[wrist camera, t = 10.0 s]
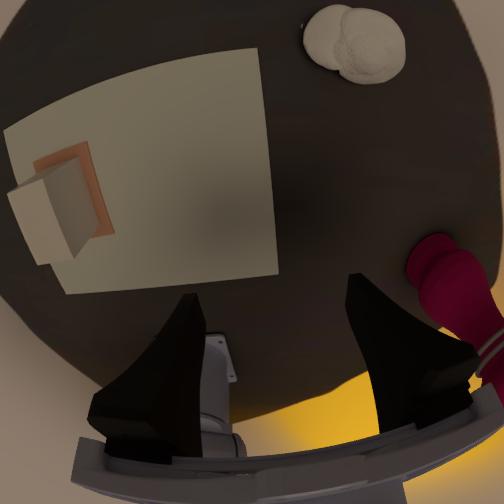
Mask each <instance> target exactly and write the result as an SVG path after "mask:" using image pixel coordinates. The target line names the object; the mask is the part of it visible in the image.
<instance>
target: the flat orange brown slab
mask: <svg viewBox="0 0 504 504" xmlns="http://www.w3.org/2000/svg"><path fill="white" fill-rule="evenodd" d="M78 156H79V159H80V163H81V166H82V170H83V173H84V176H85V180H86V183H87V186H88V189H89V192H90V196H91V199H92V202H93V204H94V207H95V210H96V213H97V216H98V219H99V221H100V224H101V225H100V226H99V227H98V229H97V230H96V231H95V232H94V234H93V235H92V236H91V237H90V238H95V237H100V236H106V235H112V234H115V232H114V229H113V226H112V223H111V220H110V217H109V214H108V211H107V208H106V205H105V202H104V199H103V196H102V193H101V189H100V186H99V183H98V179H97V176H96V172H95V169H94V165H93V162H92V158H91V154H90V150H89V146H88V142H87V141H85V142H82V143H79V144H76V145H73V146H71V147H68V148H65V149H63V150H60V151H58V152H55V153H53V154H50V155H48V156H46V157H43V158H41V159H39V160H36V161H34V162H33V165H34V169H35V172H36V174H37V173H38V172H40V171H42V170H43V169H46V168H48V167H51V166H53V165H56V164H59V163H61V162H64V161H67V160H69V159H72V158H75V157H78Z"/></svg>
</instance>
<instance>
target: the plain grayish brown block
mask: <svg viewBox="0 0 504 504" xmlns="http://www.w3.org/2000/svg"><path fill="white" fill-rule="evenodd" d="M7 195H8V198H9V201H10V204H11V206H12V209H13V211H14V214H15V217H16V219H17V221H18V224H19V226H20V229H21V231H22V233H23V236H24V238H25V240H26V242H27V244H28V246H29V249H30V251H31V253H32V255H33V257H34V259H35V261H36V263H37V265H41V264H48V263H54V262H60V261H66V260H73V259H75V257H76V256H77V255H78V253H79V252H80V251H81V249H82V248H83V247H84V245H85V244H86V243H87V241H88V240H89V239H90V237H91V236H92V235H93V234H94V232H95V231H96V230H97V229H98V227H99V226H100V225H101V224H100V221H99V219H98V216H97V213H96V210H95V207H94V204H93V202H92V199H91V196H90V192H89V189H88V186H87V183H86V180H85V176H84V173H83V170H82V166H81V163H80V159H79V156H78V157H75V158H72V159H69V160H67V161H64V162H61V163H59V164H56V165H53V166H51V167H48V168H46V169H43V170H42V171H40V172H38V173H37V174H35V175H34V176H32V177H31V178H29V179H28V180H26V181H25V182H23V183H22V184H20V185H19V186H17V187H16V188H14V189H13V190H11V191H10V192H9V193H7Z"/></svg>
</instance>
